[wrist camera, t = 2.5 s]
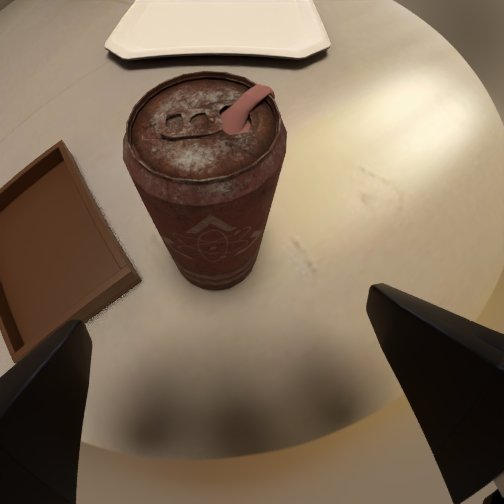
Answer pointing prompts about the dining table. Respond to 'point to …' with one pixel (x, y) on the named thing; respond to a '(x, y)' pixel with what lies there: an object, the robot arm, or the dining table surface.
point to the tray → (54, 253)
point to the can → (207, 170)
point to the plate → (219, 29)
